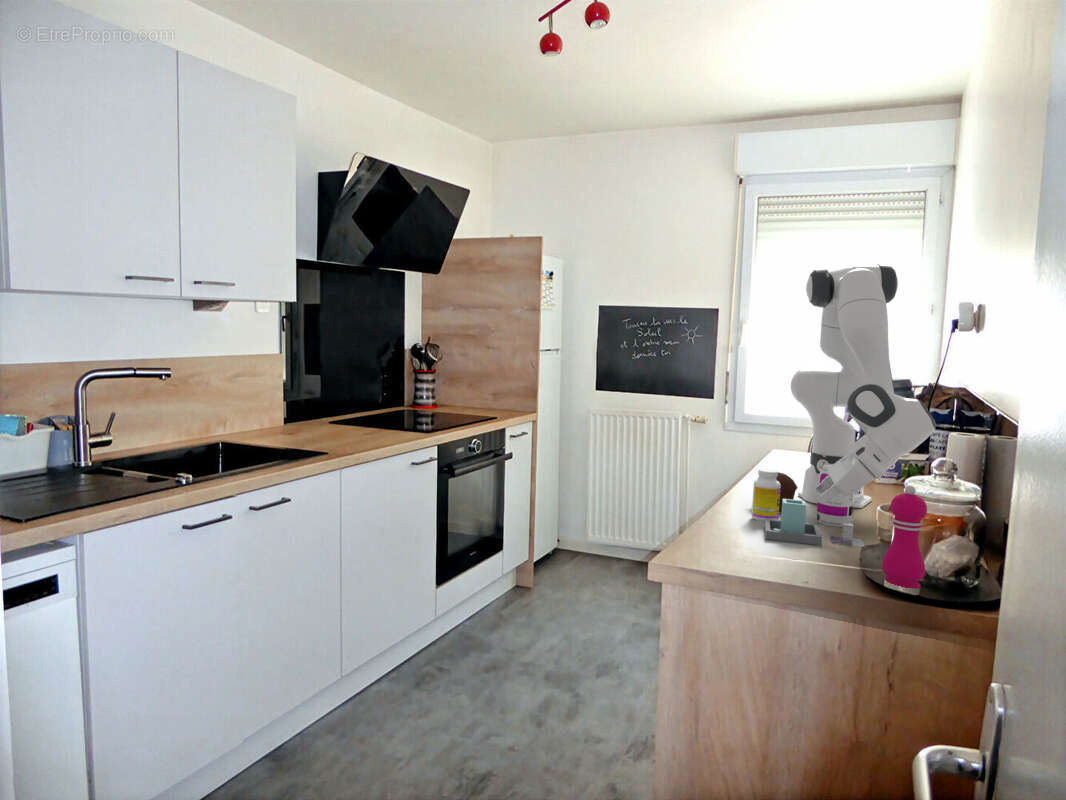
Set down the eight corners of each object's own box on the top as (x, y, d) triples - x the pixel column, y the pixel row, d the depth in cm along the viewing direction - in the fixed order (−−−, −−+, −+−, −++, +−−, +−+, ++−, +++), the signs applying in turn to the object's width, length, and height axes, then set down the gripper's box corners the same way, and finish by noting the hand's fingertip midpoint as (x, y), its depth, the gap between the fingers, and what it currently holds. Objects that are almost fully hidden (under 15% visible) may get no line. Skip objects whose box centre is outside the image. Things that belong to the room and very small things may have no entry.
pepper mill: (872, 584, 140) (881, 481, 138) (908, 584, 140) (917, 482, 139) (893, 597, 133) (903, 489, 131) (931, 598, 133) (941, 490, 132)
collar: (773, 530, 175) (775, 497, 174) (802, 534, 173) (804, 500, 172) (774, 536, 170) (776, 502, 169) (803, 539, 168) (806, 505, 167)
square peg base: (829, 537, 173) (830, 519, 173) (861, 541, 171) (862, 522, 171) (832, 545, 166) (833, 526, 166) (865, 549, 165) (867, 529, 164)
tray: (764, 528, 179) (765, 518, 178) (816, 534, 175) (817, 524, 175) (765, 541, 167) (765, 530, 167) (821, 547, 164) (822, 536, 164)
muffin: (743, 505, 205) (746, 469, 204) (774, 503, 209) (777, 468, 208) (772, 515, 194) (775, 478, 193) (805, 512, 198) (807, 476, 197)
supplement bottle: (779, 524, 184) (783, 473, 183) (752, 521, 186) (756, 471, 184) (776, 517, 191) (780, 469, 190) (750, 515, 192) (753, 467, 191)
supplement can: (835, 529, 181) (840, 470, 180) (809, 521, 188) (813, 464, 187) (857, 527, 185) (862, 468, 183) (831, 519, 192) (835, 462, 191)
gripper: (853, 440, 176) (806, 476, 179) (865, 453, 156) (812, 493, 160) (871, 460, 175) (824, 496, 179) (886, 476, 155) (832, 515, 159)
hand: (819, 495), depth 169 cm, fingers open, 8 cm apart
